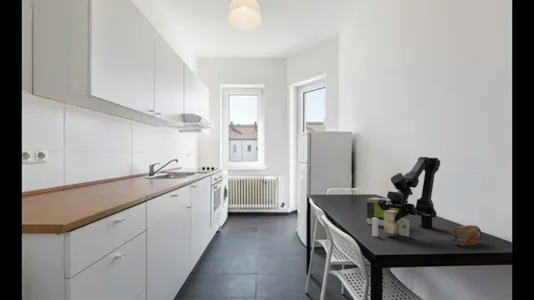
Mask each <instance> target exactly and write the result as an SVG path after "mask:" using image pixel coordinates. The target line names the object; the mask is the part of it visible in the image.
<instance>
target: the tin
mask: <svg viewBox="0 0 534 300" xmlns="http://www.w3.org/2000/svg"><path fill="white" fill-rule="evenodd" d="M451 240H452V242H453V243H454V244H455V245H457V246H462V247H467V246H474V245H478V244H479V243H480V242H481V240H482V230H481V228H480V227H479V226H477V225H472V224H470V225H469V224H468V225H459V226H455V227H454V228H453V229H452V230H451Z"/></svg>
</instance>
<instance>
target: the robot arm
mask: <svg viewBox="0 0 534 300" xmlns="http://www.w3.org/2000/svg"><path fill="white" fill-rule="evenodd" d="M440 166H441V160H440V159H439V158H438V157H428V156H420V157H418V158H417V161H416V163H415V164H414V166H412V169H411V170H410V171H409V172H407V173H405V174H404V175H403V173H401V172H397V173H396V174H395V175H393V176H392V177H390V182H391V184H392V185H393V186H394V189H395V190H397V192H396V191H392V190H388V192H387V195H386V199H390V202H392V204H391V203H388V202H387V201H386V200H381V199H380V200H379V201H378V202H377V203H378V205H379V206H380V208H381V209H382V210H385V211H386V210H390V209H391V208H395V209H399V211H398V213H397V215H396V217H395V220H394V221H395V222H397V221H398V220H400V219H404V218H405V217H407V216H416V215H417V216H420V224H418V225H417V226H418V227H420V228H422V229H436V227H435V226H433V218H434V219H435V218H436V217H437V214H438V213H437V211H436V209H435V208H434V207H435V205H434V202H433V200H432V195H433V187H434V181H435V175H436V173H437V172H438V171H439V169H440ZM423 172H424V177H423V184H422V188H421V189H422V190H421V196H420V198H417V199H416V203H415V205H414V203H409V201H408V200H409V198H410V196H413V192H412V191H413V190H412V189H413V188H414V189H415V188H417V186H418V185H419V183H420V180H419V178H420V176H421V175H422V173H423Z"/></svg>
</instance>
